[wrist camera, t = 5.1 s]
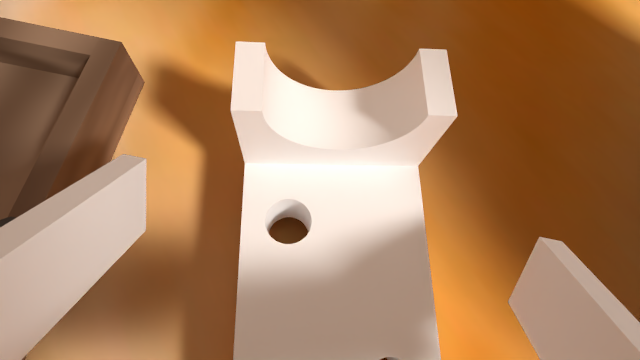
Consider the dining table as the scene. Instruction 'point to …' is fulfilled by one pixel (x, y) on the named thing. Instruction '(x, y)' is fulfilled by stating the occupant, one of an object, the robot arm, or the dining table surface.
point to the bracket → (336, 212)
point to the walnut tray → (58, 109)
